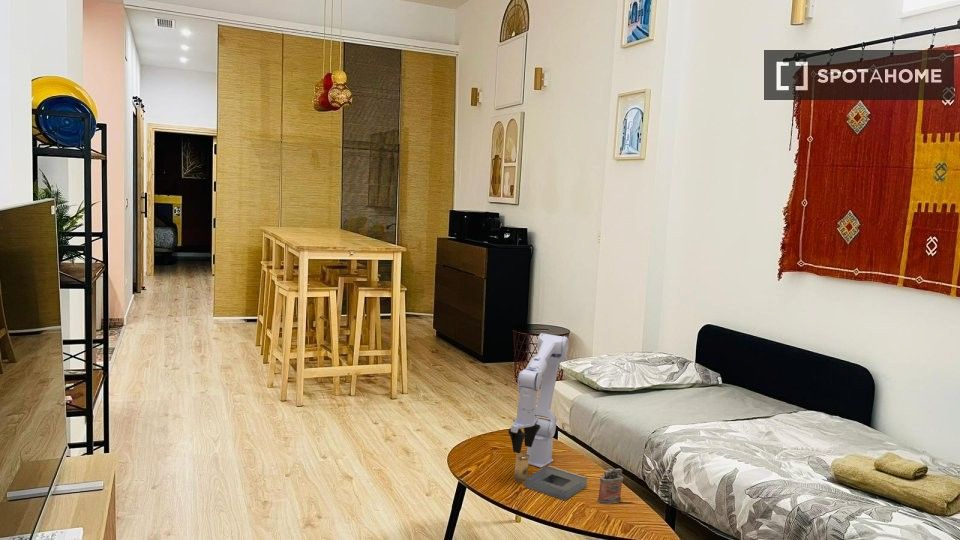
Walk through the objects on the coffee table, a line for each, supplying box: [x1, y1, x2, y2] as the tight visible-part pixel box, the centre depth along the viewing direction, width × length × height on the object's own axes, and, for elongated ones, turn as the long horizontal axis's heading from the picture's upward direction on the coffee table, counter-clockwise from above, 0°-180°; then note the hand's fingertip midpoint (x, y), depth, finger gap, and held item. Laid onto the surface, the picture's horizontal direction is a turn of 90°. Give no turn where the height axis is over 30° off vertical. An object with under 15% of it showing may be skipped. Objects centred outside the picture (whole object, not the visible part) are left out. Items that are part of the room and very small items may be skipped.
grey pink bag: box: [597, 468, 624, 505], centre depth 223 cm, size 8×3×10 cm, turn 117°
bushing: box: [513, 452, 530, 483], centre depth 233 cm, size 4×4×8 cm
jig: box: [524, 464, 588, 501], centre depth 231 cm, size 15×14×3 cm
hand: (522, 449), depth 233 cm, fingers open, 7 cm apart
